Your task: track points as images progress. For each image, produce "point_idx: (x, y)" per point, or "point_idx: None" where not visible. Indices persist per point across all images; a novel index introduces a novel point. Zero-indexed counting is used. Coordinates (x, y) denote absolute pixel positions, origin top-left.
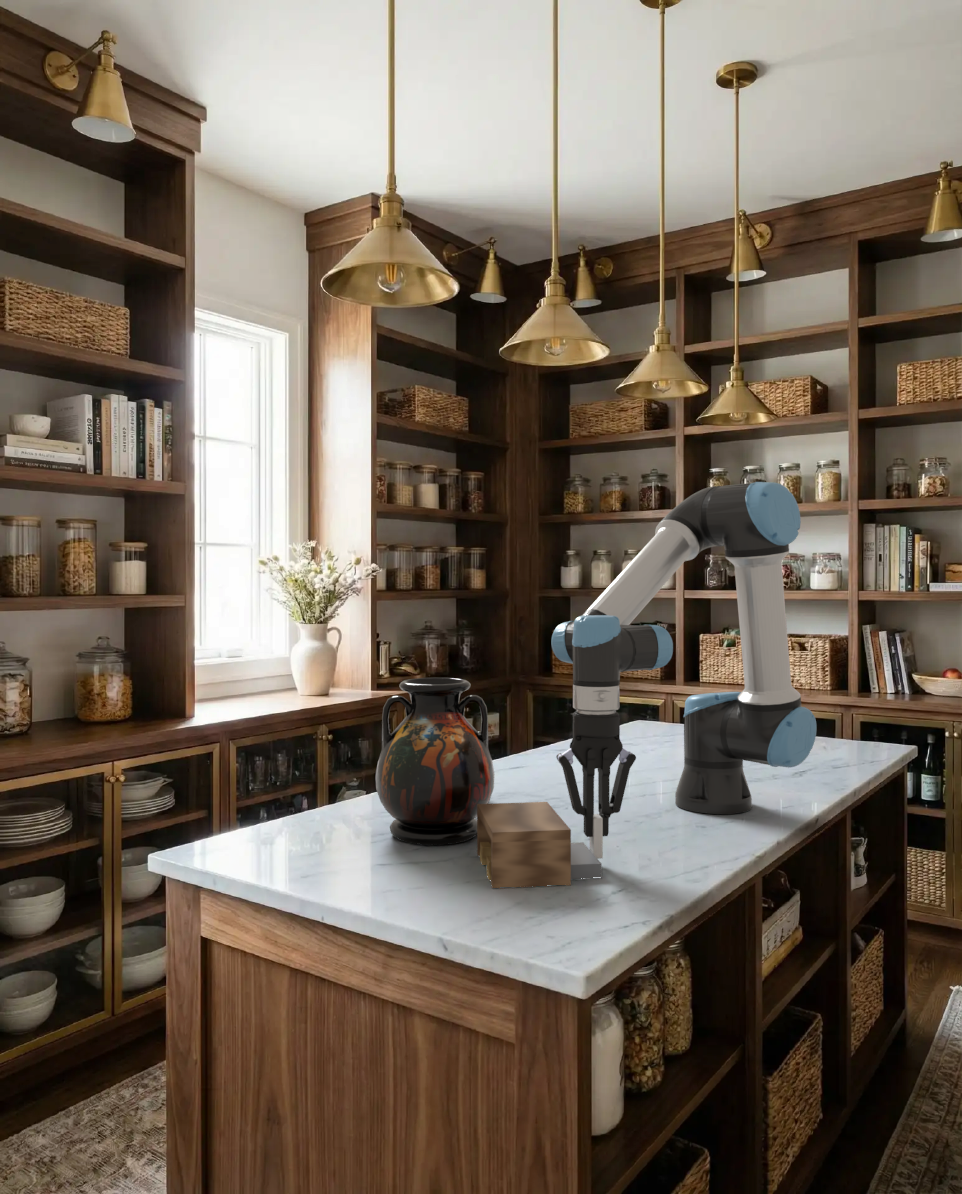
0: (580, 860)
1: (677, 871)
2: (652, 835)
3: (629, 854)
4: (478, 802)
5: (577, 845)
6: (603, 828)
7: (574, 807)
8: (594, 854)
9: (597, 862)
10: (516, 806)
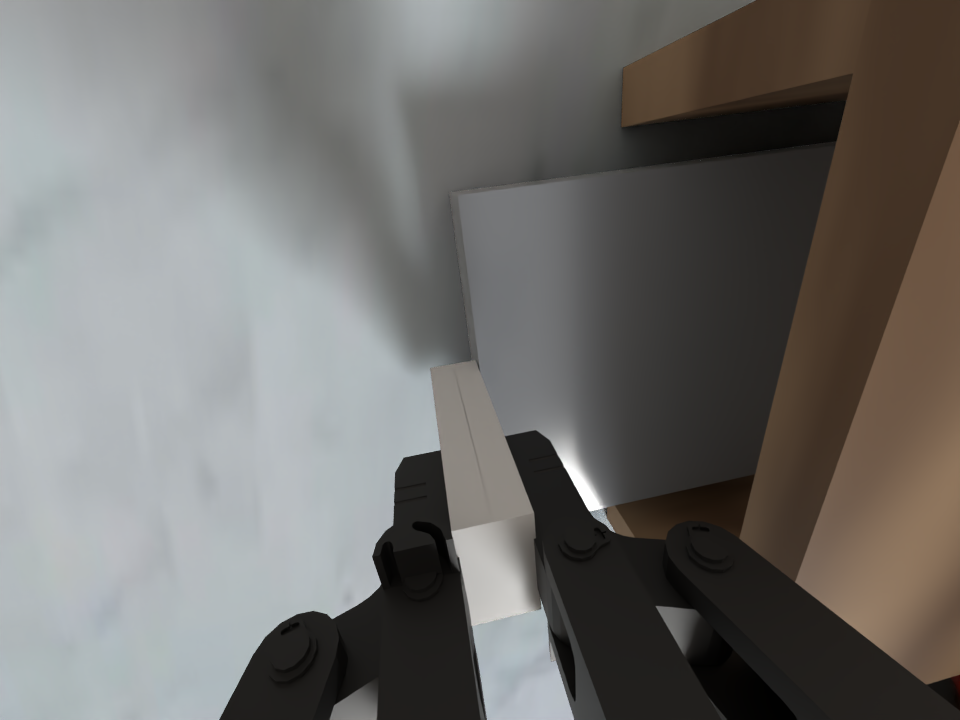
0: (566, 260)
1: (20, 317)
2: (215, 708)
3: (300, 525)
4: (945, 697)
5: None
6: (432, 489)
7: (774, 578)
8: (474, 370)
9: (478, 219)
10: (942, 640)
